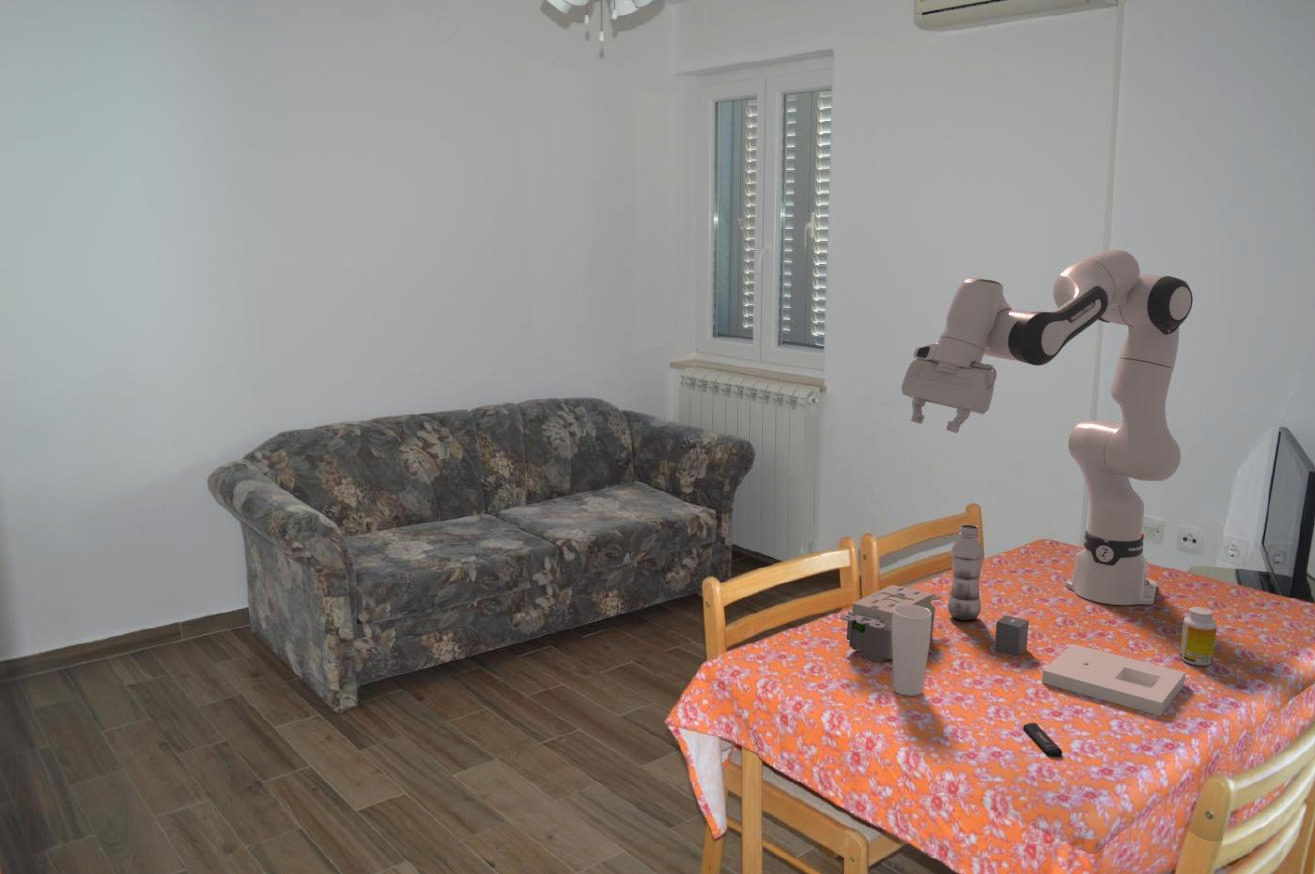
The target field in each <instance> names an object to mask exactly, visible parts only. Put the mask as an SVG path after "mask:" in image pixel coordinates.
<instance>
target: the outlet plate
mask: <svg viewBox="0 0 1315 874" xmlns="http://www.w3.org/2000/svg"><path fill="white" fill-rule="evenodd" d="M1186 674H1187V673H1186V672H1185V671H1181V670H1178V669H1173V668H1170V667H1165V666H1161V665H1158V664H1153V663H1151V662H1150V663H1149V662H1146V661H1142V660H1138V659H1134V658H1129V657H1126V656H1122V655H1119V654H1115V653H1111V652H1106V651H1102V650H1098V649H1095V648H1090V647H1087V646H1083V645H1078V644H1076V643H1071V644H1070V646H1068V647H1067V648H1065V650H1064V651H1063V652H1061V653H1060V654H1059V655H1058V656H1057V657H1056V658H1055V659H1054V660H1052V661H1051V662H1050V663H1049V664H1048V665H1047V666H1046V667H1045V668H1044V669H1042V677H1041V683H1042V684H1045V685H1049V686H1052V687H1056V688H1059V689H1060V688H1061V689H1063V690H1065V691H1070V692H1074V693H1077V694H1081V695H1084V696H1087V697H1091V698H1095V699H1098V700H1101V701H1106V702H1109V703H1113V704H1117V705H1120V706H1124V707H1126V708H1130V709H1134V710H1137V711H1141V712H1144V713H1147V714H1148V713H1149V714H1151V715H1155V716H1159V717H1161V716H1162V715H1163V713H1165V710H1167V708H1168V707H1169V706H1170V704H1171V703H1172V702H1173V701H1174V699H1175V698H1176V696H1177V695H1178V694H1179V692H1180V691H1181V690H1182V688H1183V687H1184V686H1185V683H1186V682H1185V681H1186Z"/></svg>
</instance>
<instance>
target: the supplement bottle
mask: <svg viewBox="0 0 1315 874" xmlns="http://www.w3.org/2000/svg"><path fill="white" fill-rule="evenodd" d="M1213 619H1214V612H1213V610H1211V609H1209V608H1207V607H1200V606H1193V607H1192V606H1191V607H1190V608H1189V611H1188V616H1186V617H1184V619H1183V624H1182V633H1181V642H1180V648H1179V649H1180V651H1179V658H1180V659H1181V660H1182V662H1184V663H1187V664H1190V665H1193V666H1200V667H1203V666H1209V665H1211V664H1212V663H1213V659H1214V651H1215V643H1216V642H1215V641H1216V633H1217V626H1218V625H1217V623H1216V622H1215V620H1213Z"/></svg>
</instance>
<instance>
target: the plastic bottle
mask: <svg viewBox="0 0 1315 874" xmlns="http://www.w3.org/2000/svg"><path fill="white" fill-rule="evenodd" d="M979 531H980V528H979V526H977V525H974V524H973V525H972V524H962V525H960V527H959V532H958V533H959V534H958V535H959V536H960V537H959V538H958V539H957V540H956V541H955V542H954V543H953V545H952V547H951V550H950V555H951V565H952V581H951V583H952V584H951V589H950V595H949V596H948V597H949V598H948V603H947V609H948V610H947V611H948V613H949V615H950V616H951V617H952V618H954V619H957V620H961V621H962V620H963V621H972V620H976V619H977V618H978V617H979V616H980V613H981V609H982V605H981V597H980V577H981V570H982V565H983V561H984V556H985V552H984V547H983V546H982V544H981V543H980V541H979V539H978V538H979V537H980V534H979Z"/></svg>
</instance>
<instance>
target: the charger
mask: <svg viewBox="0 0 1315 874" xmlns="http://www.w3.org/2000/svg"><path fill="white" fill-rule="evenodd" d="M1029 622H1030V621H1029V619H1028V620H1027V619H1023V618H1020V617H1019V618H1018V617H1015V616H1011V615H1007V614H1005V615H1003V616H1002V617H1001V618H999V619H998V620H997V621H996V625H995V638H994V651H995V652H999V653H1003V654H1006V655H1008V656H1009V655H1010V656H1013V657H1019V656H1021V654H1023V653H1024V652H1025V651H1026V650H1027V649H1028V648H1027V647H1028V636H1029V635H1028V634H1029V626H1030V625H1029V624H1030V623H1029Z"/></svg>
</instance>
